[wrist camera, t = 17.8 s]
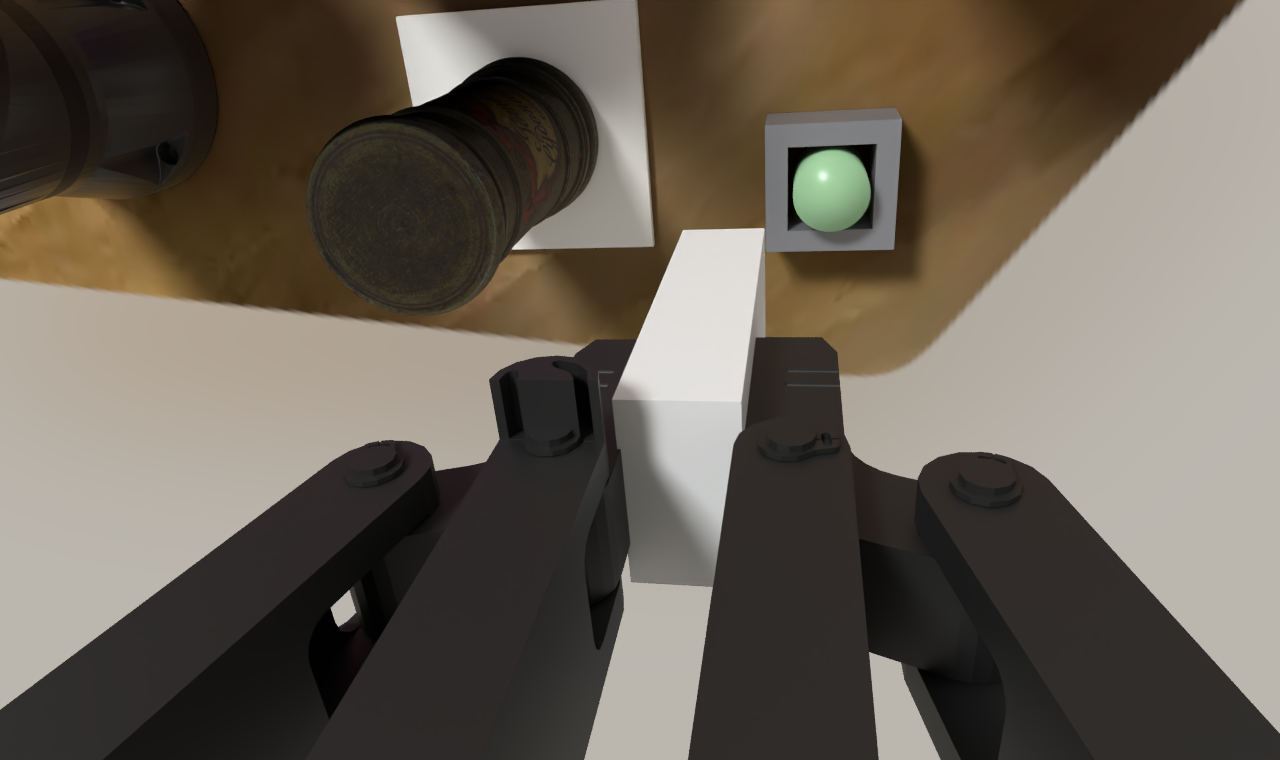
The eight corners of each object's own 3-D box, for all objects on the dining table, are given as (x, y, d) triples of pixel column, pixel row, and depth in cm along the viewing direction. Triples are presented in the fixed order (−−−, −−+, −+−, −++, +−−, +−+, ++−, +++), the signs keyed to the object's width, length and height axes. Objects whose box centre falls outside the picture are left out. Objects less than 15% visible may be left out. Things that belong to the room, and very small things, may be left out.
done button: (793, 209, 49) (792, 232, 45) (793, 140, 47) (793, 158, 43) (863, 207, 48) (868, 230, 44) (866, 137, 46) (872, 155, 42)
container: (558, 237, 52) (452, 364, 36) (433, 158, 51) (268, 253, 35) (630, 112, 48) (544, 195, 32) (495, 23, 47) (338, 63, 31)
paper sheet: (444, 248, 54) (441, 251, 54) (399, 15, 48) (395, 16, 47) (654, 243, 52) (653, 246, 51) (637, -3, 45) (635, -2, 45)
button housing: (768, 233, 50) (765, 251, 47) (767, 113, 47) (764, 125, 44) (888, 230, 49) (893, 249, 46) (895, 107, 46) (902, 119, 42)
